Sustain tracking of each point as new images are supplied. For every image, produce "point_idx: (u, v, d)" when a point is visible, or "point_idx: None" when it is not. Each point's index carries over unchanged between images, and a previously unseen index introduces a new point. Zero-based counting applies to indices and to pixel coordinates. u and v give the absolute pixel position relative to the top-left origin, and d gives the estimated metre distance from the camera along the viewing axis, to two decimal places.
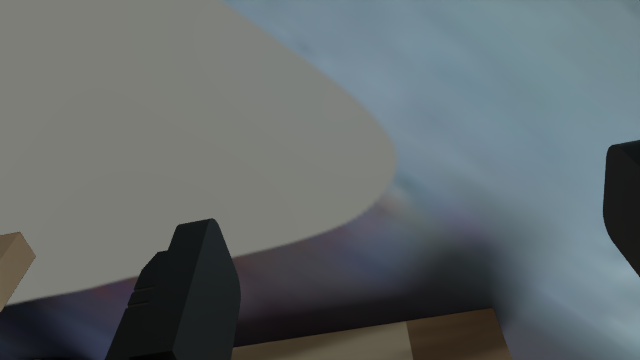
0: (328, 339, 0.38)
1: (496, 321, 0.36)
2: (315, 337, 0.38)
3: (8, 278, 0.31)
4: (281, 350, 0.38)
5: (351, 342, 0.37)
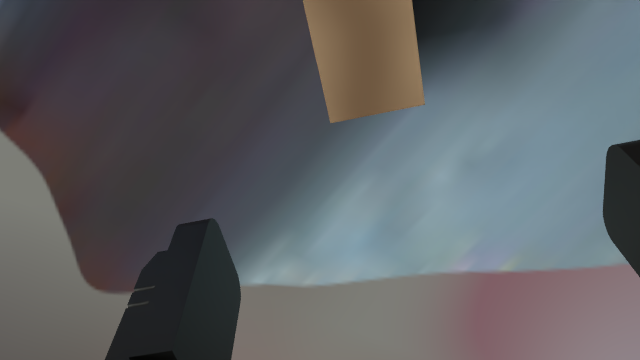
0: None
1: None
2: None
3: None
4: None
5: None
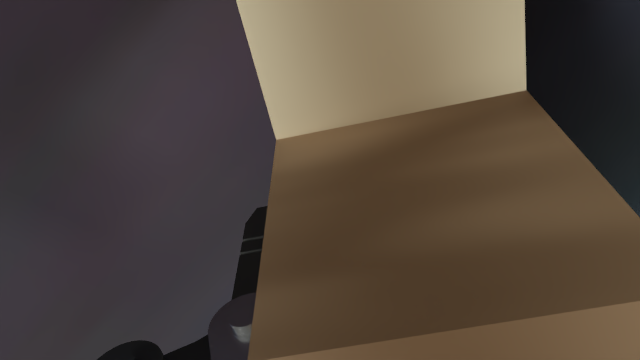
0: None
1: None
2: None
3: None
4: None
5: None
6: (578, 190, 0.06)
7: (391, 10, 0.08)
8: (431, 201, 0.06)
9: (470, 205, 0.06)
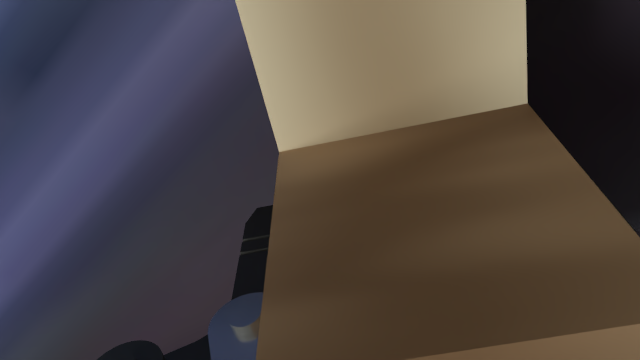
0: None
1: None
2: None
3: None
4: None
5: None
6: (579, 208, 0.06)
7: (394, 25, 0.08)
8: (433, 219, 0.07)
9: (473, 222, 0.06)
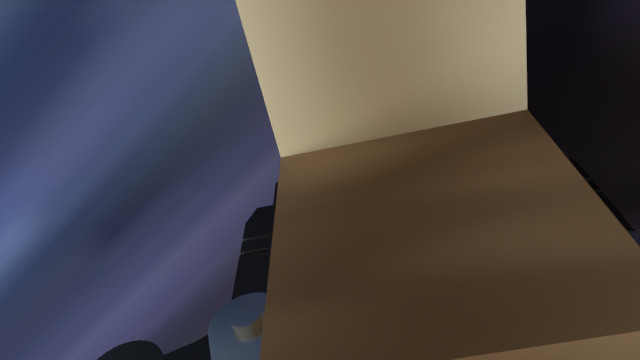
0: None
1: None
2: None
3: None
4: None
5: None
6: (578, 215, 0.06)
7: (395, 32, 0.08)
8: (435, 226, 0.07)
9: (473, 229, 0.06)
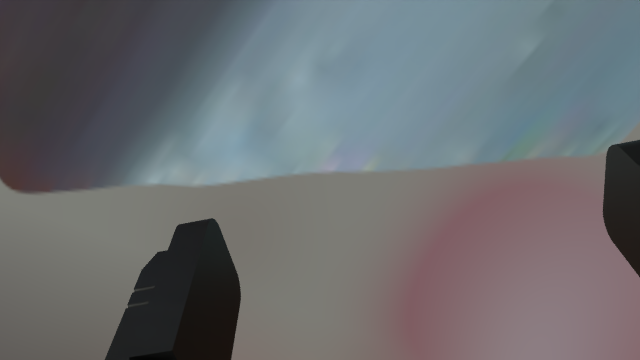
0: None
1: None
2: None
3: None
4: None
5: None
6: None
7: None
8: None
9: None
